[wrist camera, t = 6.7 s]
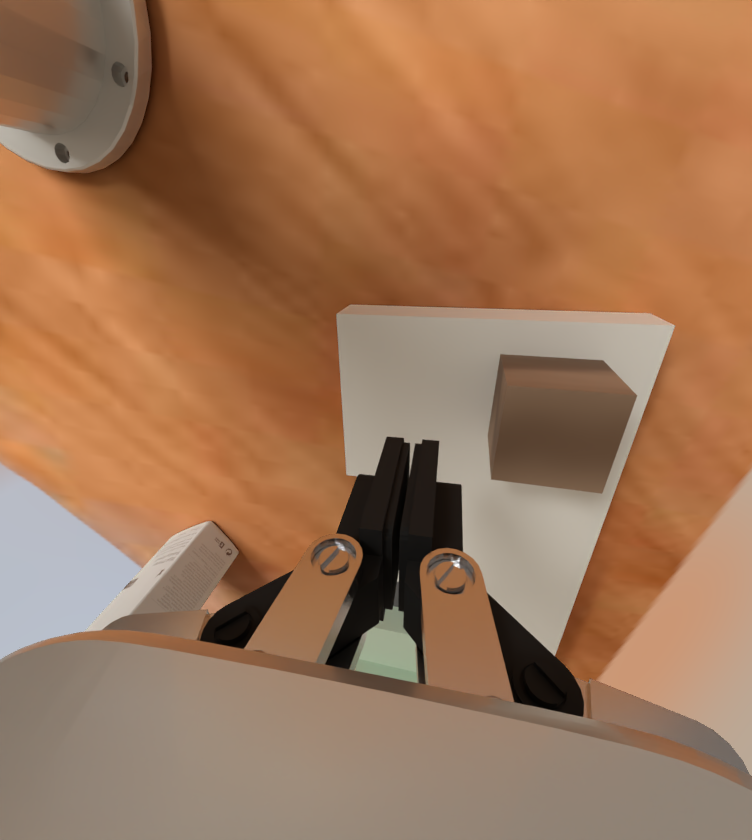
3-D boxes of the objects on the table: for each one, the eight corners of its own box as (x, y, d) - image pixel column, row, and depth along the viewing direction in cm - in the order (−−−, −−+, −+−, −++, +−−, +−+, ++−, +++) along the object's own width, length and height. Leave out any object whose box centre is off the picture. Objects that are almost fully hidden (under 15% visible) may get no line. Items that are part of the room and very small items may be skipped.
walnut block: (500, 354, 18) (507, 385, 14) (603, 360, 17) (637, 395, 13) (487, 435, 20) (491, 479, 16) (578, 444, 19) (602, 493, 15)
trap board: (350, 304, 21) (318, 325, 16) (650, 313, 18) (708, 342, 13) (365, 638, 35) (350, 696, 31) (531, 675, 32) (541, 744, 28)
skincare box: (210, 517, 32) (85, 658, 22) (243, 552, 33) (140, 702, 23) (170, 535, 35) (40, 669, 24) (201, 568, 36) (91, 708, 26)
